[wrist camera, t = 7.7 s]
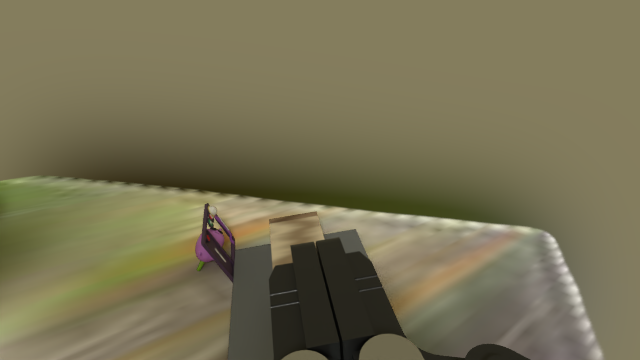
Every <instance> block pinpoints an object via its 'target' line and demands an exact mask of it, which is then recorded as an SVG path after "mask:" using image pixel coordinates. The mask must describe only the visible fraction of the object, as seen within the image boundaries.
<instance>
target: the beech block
mask: <svg viewBox="0 0 640 360" xmlns="http://www.w3.org/2000/svg"><path fill="white" fill-rule="evenodd" d="M269 224H270V238H271V252H272V266H273V269H274V267H275V266H276V265H282V264H287V263H293V261H292V254H291V247H290V245H295V244H301V243H308V242H314V243H315V247H316V241H319V240H325V239H324V236H323V232H322V229H321V226H320V222H319V219H318V215H317V212H310V213H304V214H298V215H292V216H286V217H280V218H274V219H269Z"/></svg>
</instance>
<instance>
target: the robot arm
mask: <svg viewBox="0 0 640 360" xmlns="http://www.w3.org/2000/svg"><path fill="white" fill-rule="evenodd" d="M290 247H291V254H292V261H293V263H287V264H282V265H276V266H275V267H274V269H273V271H272V273H271V275H270V278H269V291H270V306H271V323H272V338H273V354H274V360H530V359H528V358H526V357H524V356H522V355H520V354H518V353H516V352H514V351H513V350H511V349H508V348H506V347H503V346H500V345H495V344H482V345H478V346H476V347H474V348H472V349H471V350H470V351H469V352H468V353H467V355H466V357H465V358H458V357H449V356H440V355H434V354H431V353H428V352H425V351H423V350H421V349H419V348H418V347H416V346H415V345H414V344H413V343H412V342H411V341H409V340H408V339H407V338H406V336H405V335H404V333H403V331H402V329H401V327H400V325H399V323H398V320H397V318H396V316H395V314H394V311H393V309H392V307H391V305H390V302H389V300H388V298H387V296H386V293H385V291H384V289H383V288H382V284H381V282H380V280H379V278H378V277H377V273H376V271H375V269H374V266H373V264H372V262H371V261H370V260H369V259H368V258H367V257H366V256H364V255H363V254H362V253H361V252H360V251H357V252H351V253H345V251H344V248H343V245H342V242H341V240H340V238H339V237H337V238H331V239H325V240H319V241H316V247H315V243H314V242H308V243H301V244H295V245H290Z"/></svg>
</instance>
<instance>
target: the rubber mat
mask: <svg viewBox="0 0 640 360" xmlns="http://www.w3.org/2000/svg"><path fill="white" fill-rule="evenodd" d="M323 236H324V239H331V238H337V237H339V238H340V240H341V242H342V245H343V248H344V251H345V253H351V252H357V251H360V252H361V253H362V254H363V255H364V256H366V257H367V258H368V256H367V254H366V252H365V249H364V247H363V245H362V243H361V240H360V238H359V236H358V234H357V231H356V229H353V230H348V231H342V232H336V233H330V234H325V235H323ZM368 259H369V258H368ZM272 271H273V266H272V252H271V244H268V245H262V246H256V247H250V248H245V249H239V250H235V263H234V278H233V292H232V306H231V321H230V335H229V350H228V360H274V354H273V338H272V323H271V306H270V291H269V278H270V275H271V273H272Z"/></svg>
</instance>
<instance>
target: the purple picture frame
mask: <svg viewBox="0 0 640 360" xmlns="http://www.w3.org/2000/svg"><path fill="white" fill-rule="evenodd" d="M216 213H217V209H216V207H214V206H210V205H209V204H208V203H207V204H205V208H204V218H203V228H202V234H201V235H200V237H199V239H198V241H197V243H196V249H195V251H196V256H197V257H198V259H199V260H200V263H199V265H198V268H197V271H200V270H201V268H202V266H203V265H204V263H205V262H210V261H212V260H213V261H215V262H216V263H217V264H218V265H219V267H220V268H221V269H222V270H223V271H224V273H225V274H226V275H227V276H228V277H229V279H230V280H231V281H232V282H233V278H234V263H235V239H234V237H233V236H232V233H231V232H230V230H229V229H228V227H227V226H226V225H225V223H224V222H223V221H222V220H221V218H219V217H218V216H217V214H216ZM213 217H214V218H215V219H216V221H217V222H218V223H219V225H220V226H221V227H222V229H223V230H224V231H225V232H226V234H227V235H228V236H229V238H230V241H231V258H230V257H229V256H228V255H227V253H226V252H225V251H224V250H223V248H222V246H223V244H224V235H222V234H223V233H222V231H221V229H219V230H218V229H217V230H216V228H213V227H214V225H213V223H214V218H213ZM212 222H213V223H212ZM207 223H208V225H209V227H210V229H207Z"/></svg>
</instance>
